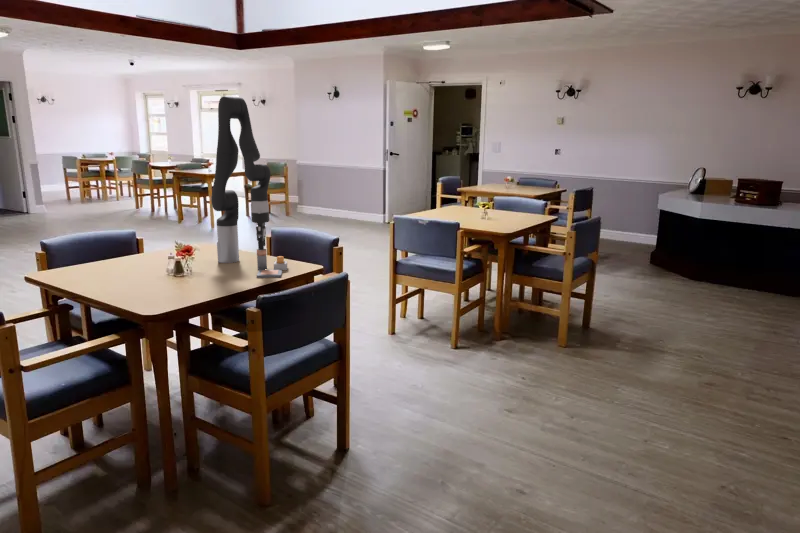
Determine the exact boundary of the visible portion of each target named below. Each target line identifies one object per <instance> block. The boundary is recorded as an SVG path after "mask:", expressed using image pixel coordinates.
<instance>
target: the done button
mask: <svg viewBox="0 0 800 533" xmlns="http://www.w3.org/2000/svg"><path fill="white" fill-rule="evenodd" d="M284 257H285V256H282V255H279V256H276V261H277V264H280V263H284V261H285V260H284V259H285V258H284Z"/></svg>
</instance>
